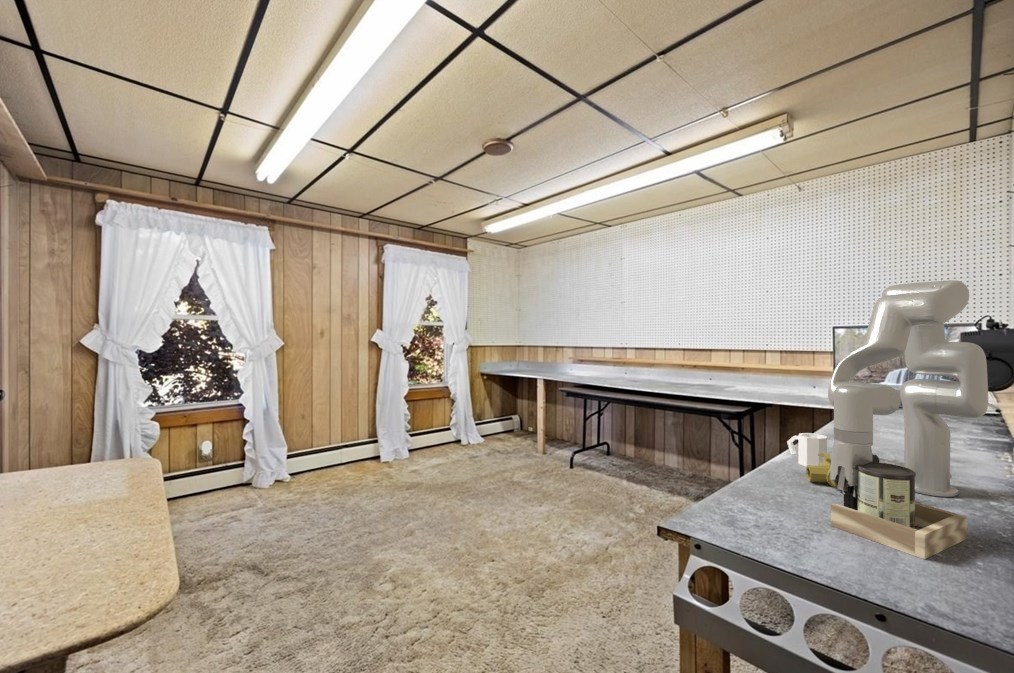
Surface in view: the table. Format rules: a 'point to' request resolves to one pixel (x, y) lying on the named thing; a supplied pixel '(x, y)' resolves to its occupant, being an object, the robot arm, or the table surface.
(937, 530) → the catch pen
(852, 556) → the table surface
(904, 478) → the coffee can
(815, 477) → the ball valve
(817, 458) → the mug
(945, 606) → the table surface
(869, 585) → the table surface
